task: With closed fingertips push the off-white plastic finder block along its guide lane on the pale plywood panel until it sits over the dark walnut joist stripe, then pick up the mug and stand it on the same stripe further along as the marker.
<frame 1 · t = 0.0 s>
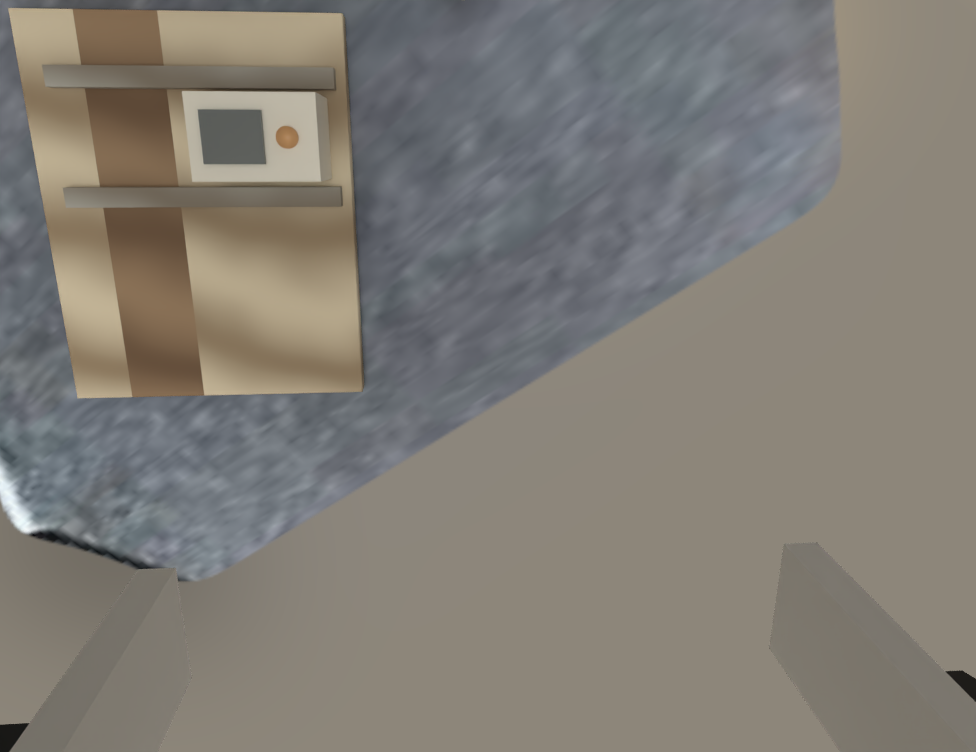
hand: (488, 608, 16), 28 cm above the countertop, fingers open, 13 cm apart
subfloor panel: (208, 215, 39), on the countertop
finder block: (261, 138, 35), point 3 cm above the countertop, slide at 0.0 cm
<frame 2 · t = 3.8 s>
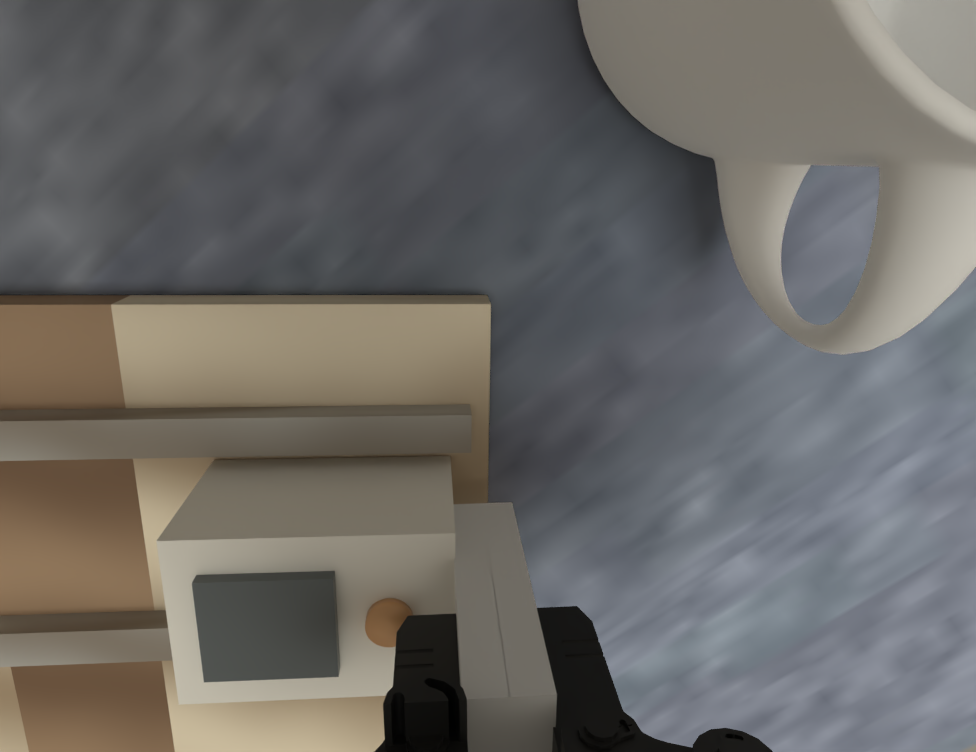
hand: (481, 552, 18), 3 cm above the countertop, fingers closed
subfloor panel: (211, 631, 21), on the countertop
finder block: (325, 572, 17), point 3 cm above the countertop, slide at 0.0 cm, touching gripper
mug: (732, 52, 18), on the countertop
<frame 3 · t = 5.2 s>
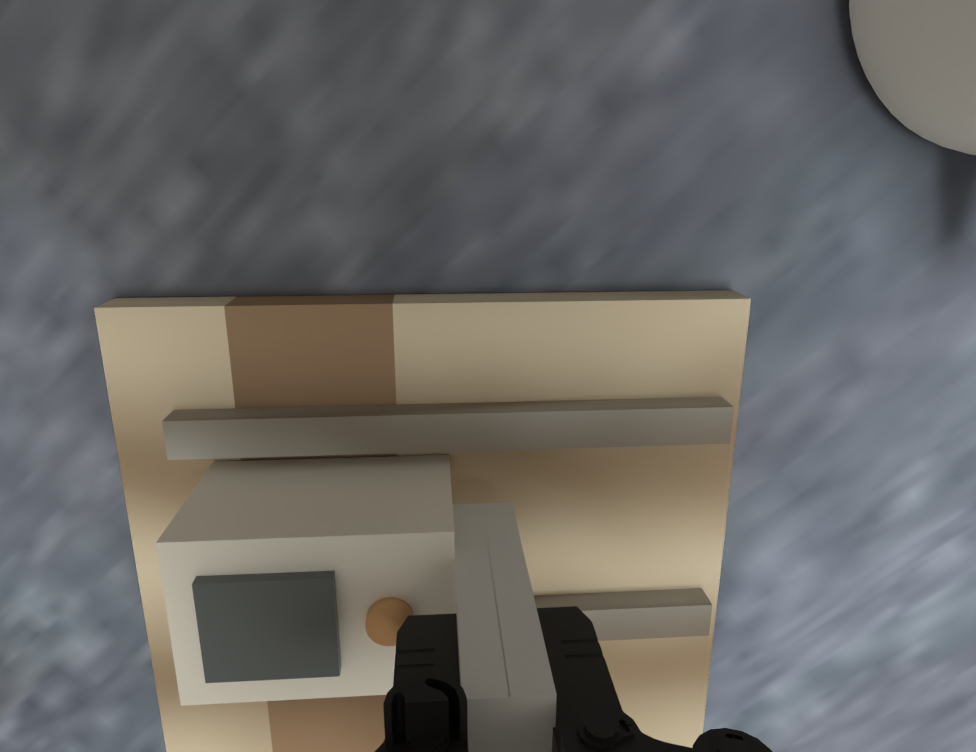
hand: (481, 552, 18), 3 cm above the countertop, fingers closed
subfloor panel: (440, 621, 22), on the countertop
finder block: (326, 572, 17), point 3 cm above the countertop, slide at 6.7 cm, touching gripper
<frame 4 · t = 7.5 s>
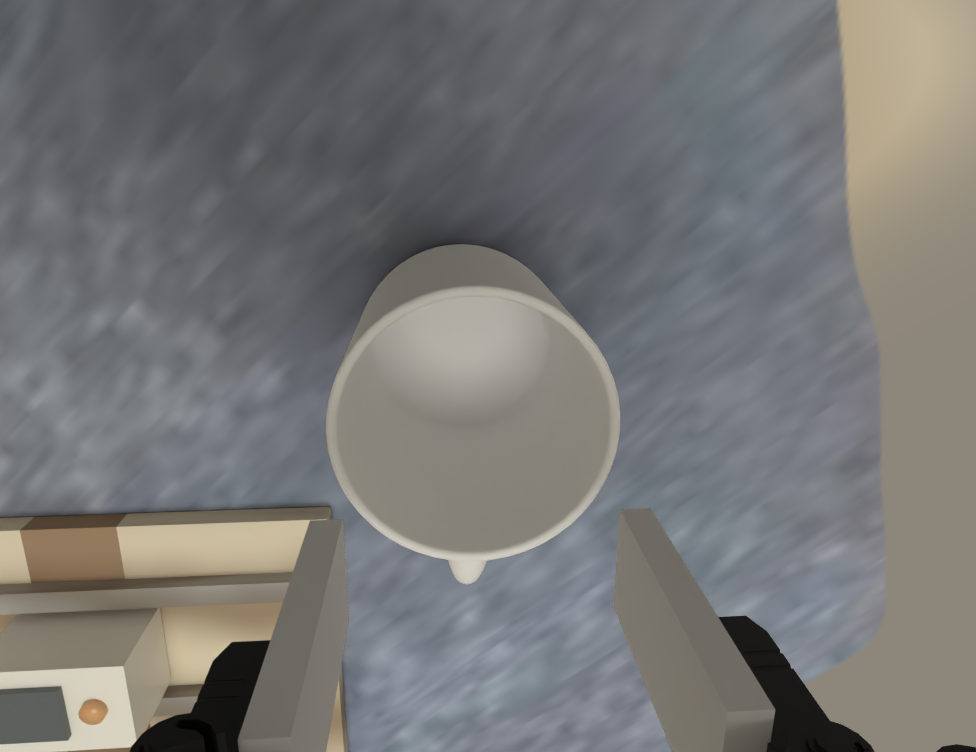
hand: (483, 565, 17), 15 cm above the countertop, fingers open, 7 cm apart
subfloor panel: (178, 695, 35), on the countertop
finder block: (75, 679, 31), point 3 cm above the countertop, slide at 6.7 cm
mug: (459, 377, 32), on the countertop
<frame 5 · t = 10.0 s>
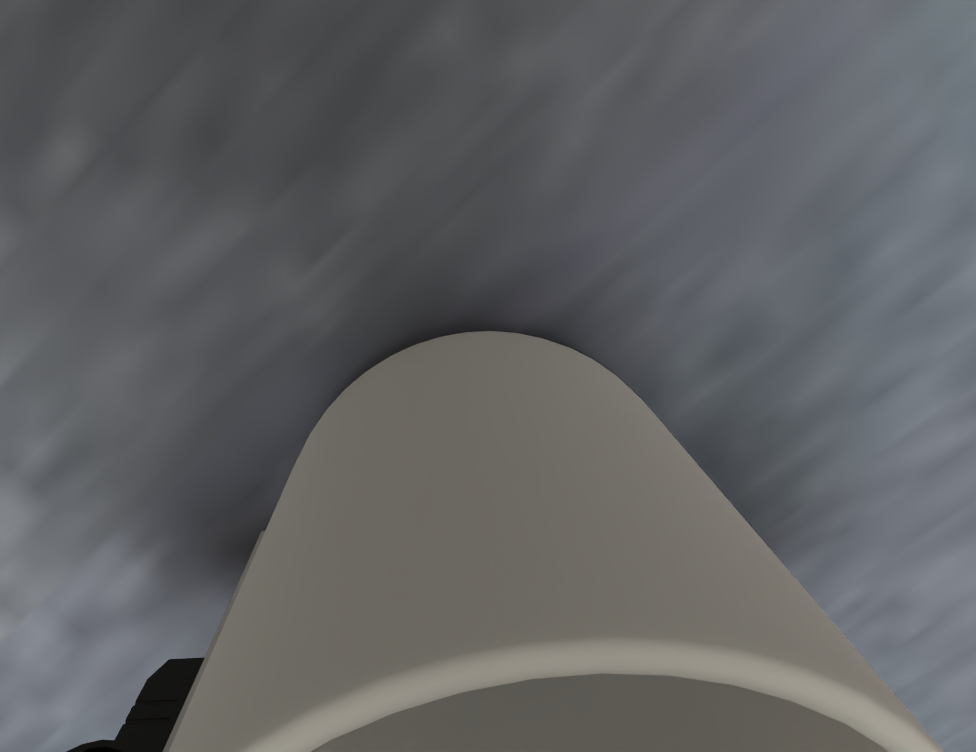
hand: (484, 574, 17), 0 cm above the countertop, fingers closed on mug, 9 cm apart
mug: (480, 559, 17), on the countertop, touching gripper
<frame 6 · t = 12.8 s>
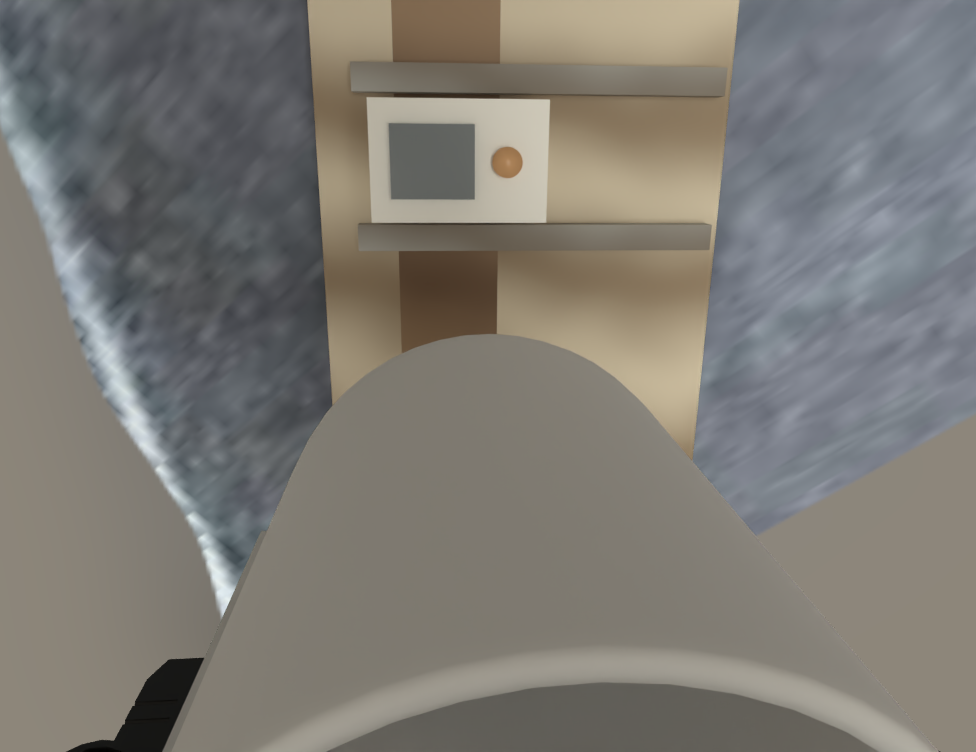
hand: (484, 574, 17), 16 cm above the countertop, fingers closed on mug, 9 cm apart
subfloor panel: (518, 258, 30), on the countertop
finder block: (457, 161, 26), point 3 cm above the countertop, slide at 6.7 cm
mug: (481, 562, 17), point 15 cm above the countertop, touching gripper
when the fingers open (3 cm above the countertop, at t = 15.7 s): mug drops 1 cm, resting on subfloor panel.
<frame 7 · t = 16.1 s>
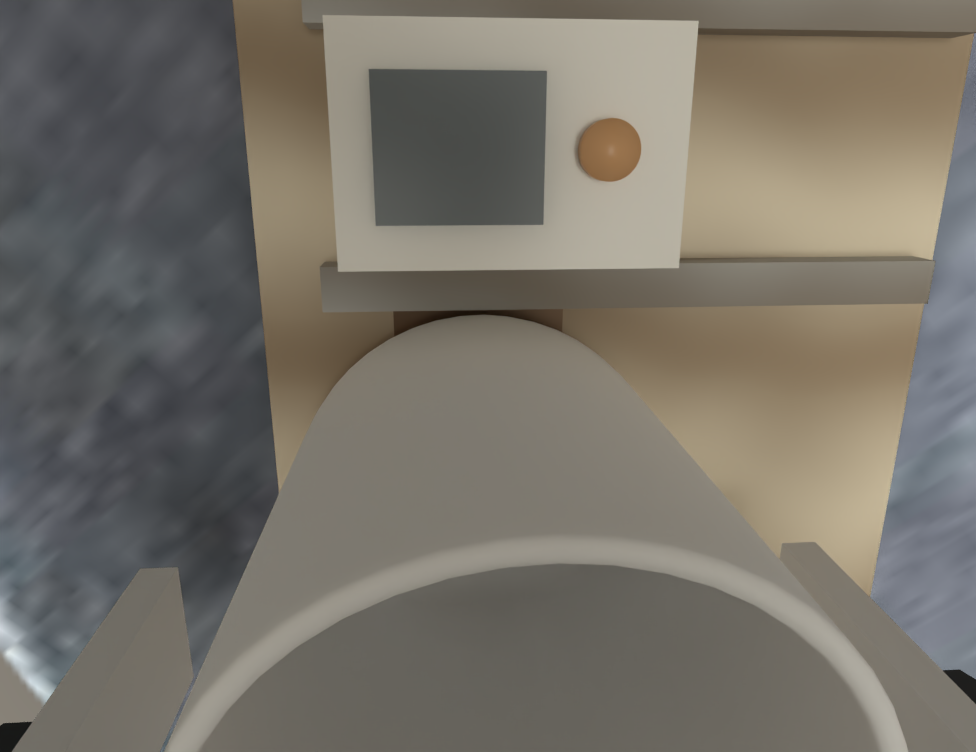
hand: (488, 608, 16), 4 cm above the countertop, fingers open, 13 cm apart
subfloor panel: (592, 315, 18), on the countertop
finder block: (502, 150, 14), point 3 cm above the countertop, slide at 6.7 cm
mug: (476, 528, 19), point 1 cm above the countertop, touching subfloor panel
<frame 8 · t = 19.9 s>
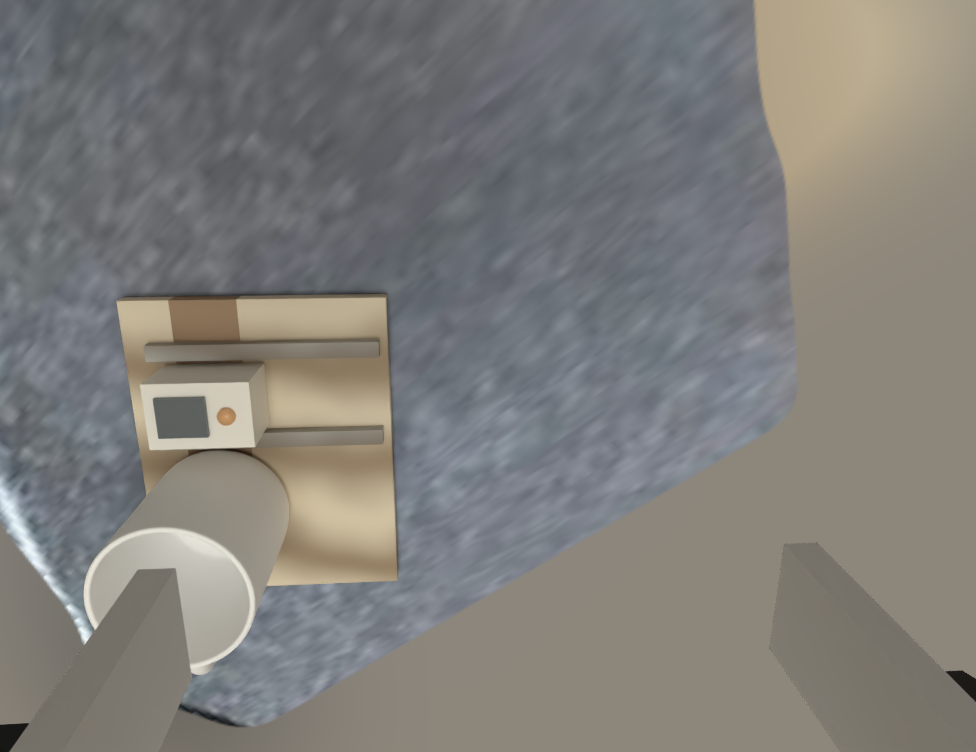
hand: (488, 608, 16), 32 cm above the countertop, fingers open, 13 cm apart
subfloor panel: (271, 444, 48), on the countertop
finder block: (208, 405, 43), point 3 cm above the countertop, slide at 6.7 cm
mug: (229, 526, 48), point 1 cm above the countertop, touching subfloor panel
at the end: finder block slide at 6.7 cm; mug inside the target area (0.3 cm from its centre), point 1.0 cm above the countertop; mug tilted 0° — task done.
